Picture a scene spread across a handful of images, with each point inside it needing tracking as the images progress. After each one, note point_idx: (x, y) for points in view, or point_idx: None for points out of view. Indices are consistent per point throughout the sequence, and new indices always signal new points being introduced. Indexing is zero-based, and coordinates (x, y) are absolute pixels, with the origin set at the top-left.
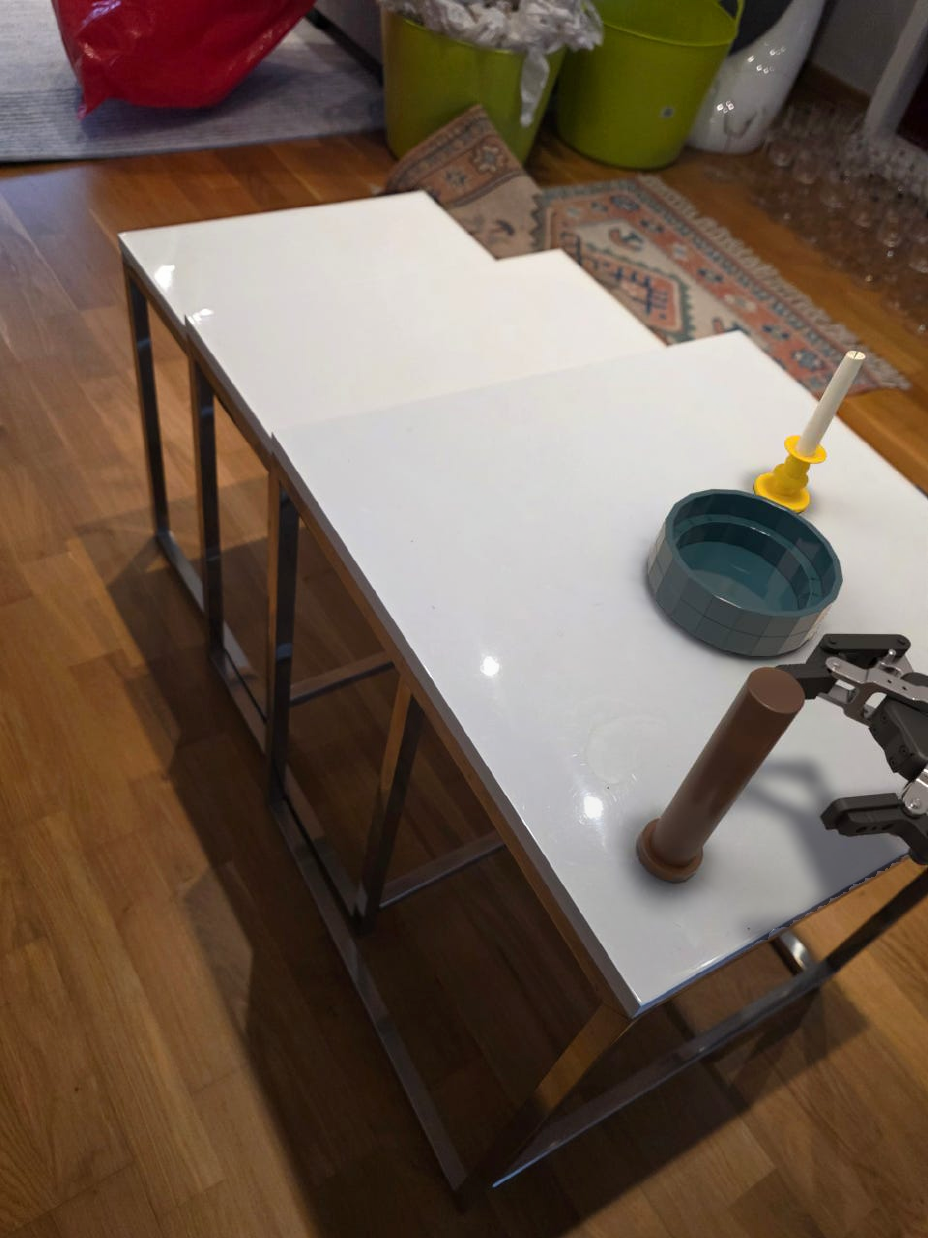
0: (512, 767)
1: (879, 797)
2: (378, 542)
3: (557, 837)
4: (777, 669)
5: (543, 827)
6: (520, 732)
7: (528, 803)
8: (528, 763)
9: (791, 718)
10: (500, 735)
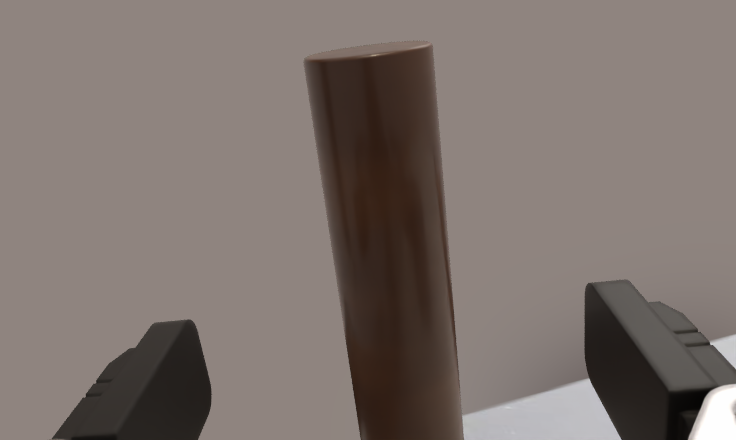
0: (575, 402)
1: (132, 388)
2: None
3: None
4: (422, 44)
5: (477, 424)
6: None
7: (515, 412)
8: (588, 418)
9: (308, 84)
10: None
